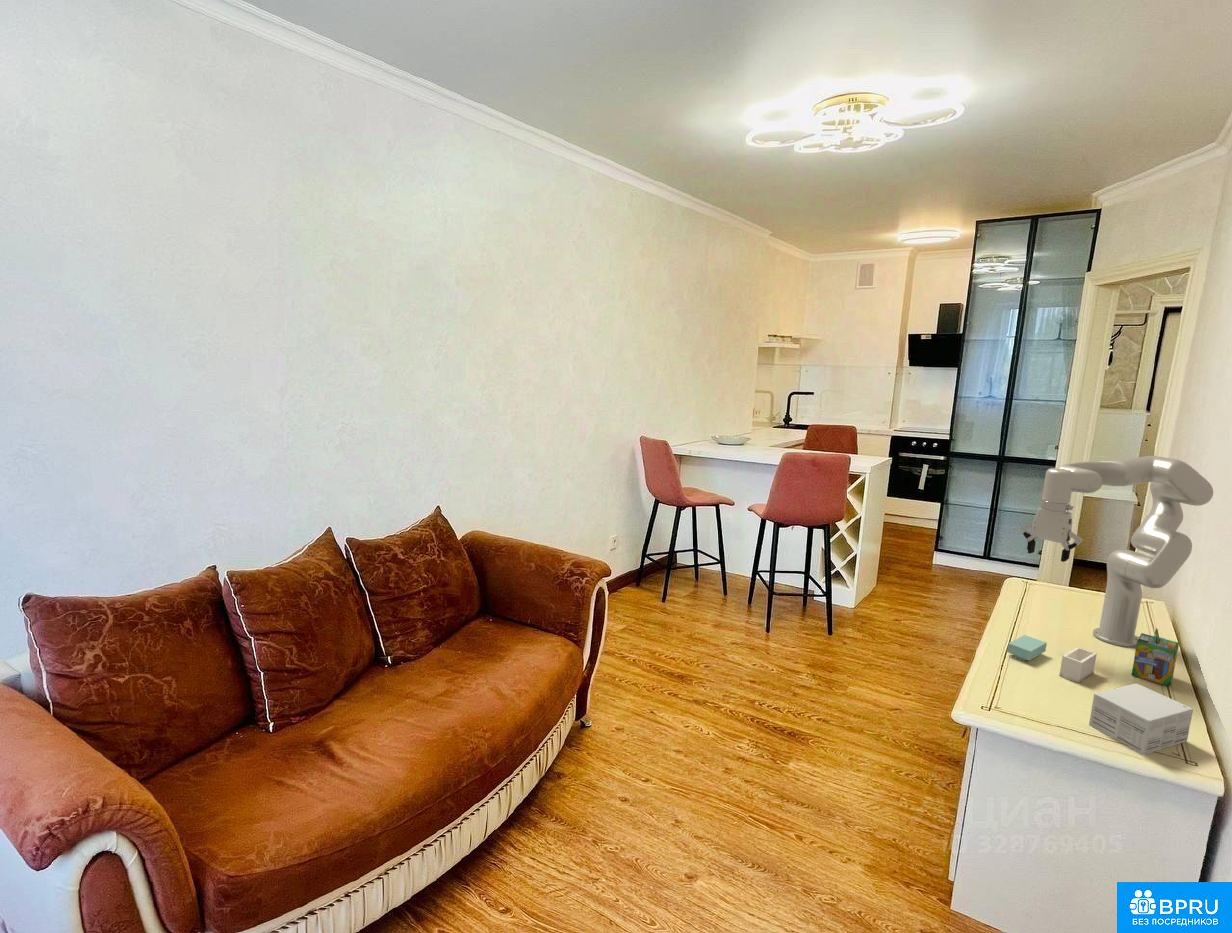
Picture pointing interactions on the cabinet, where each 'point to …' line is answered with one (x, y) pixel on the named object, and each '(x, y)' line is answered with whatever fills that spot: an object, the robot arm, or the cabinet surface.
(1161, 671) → the chalk box
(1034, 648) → the lid
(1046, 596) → the cabinet surface
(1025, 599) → the cabinet surface
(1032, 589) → the cabinet surface
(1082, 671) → the box
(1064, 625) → the cabinet surface
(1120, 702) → the supplement box
